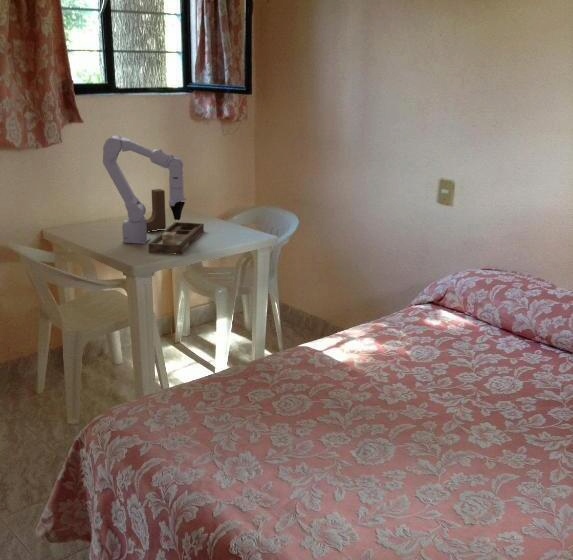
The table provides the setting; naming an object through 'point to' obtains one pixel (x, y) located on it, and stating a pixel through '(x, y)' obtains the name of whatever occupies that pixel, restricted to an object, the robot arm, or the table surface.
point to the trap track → (184, 235)
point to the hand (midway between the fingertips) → (177, 219)
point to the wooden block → (157, 211)
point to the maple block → (169, 238)
